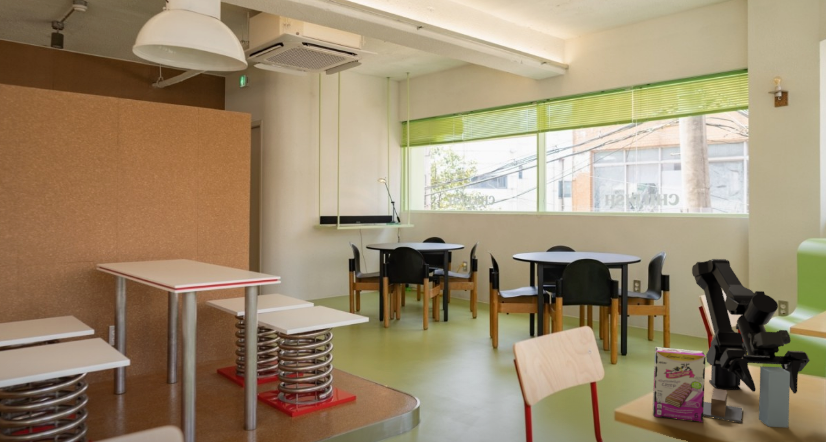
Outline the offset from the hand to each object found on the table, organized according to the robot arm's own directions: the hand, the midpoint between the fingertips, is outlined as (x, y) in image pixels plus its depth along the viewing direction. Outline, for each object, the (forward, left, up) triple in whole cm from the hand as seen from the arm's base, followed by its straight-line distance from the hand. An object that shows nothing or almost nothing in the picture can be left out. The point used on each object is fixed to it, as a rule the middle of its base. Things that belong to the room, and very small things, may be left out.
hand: (774, 391), depth 138 cm
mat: (-10, +5, -8) cm, 14 cm away
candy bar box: (-21, 0, -8) cm, 23 cm away
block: (0, 0, -8) cm, 8 cm away
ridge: (-10, +5, -8) cm, 14 cm away
